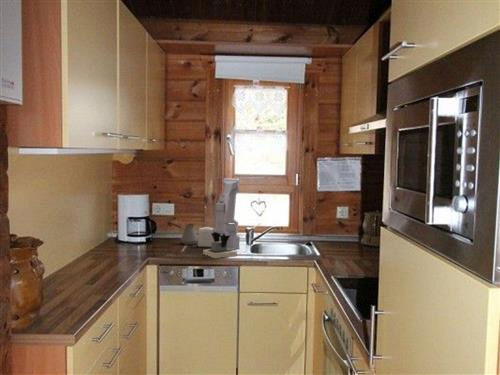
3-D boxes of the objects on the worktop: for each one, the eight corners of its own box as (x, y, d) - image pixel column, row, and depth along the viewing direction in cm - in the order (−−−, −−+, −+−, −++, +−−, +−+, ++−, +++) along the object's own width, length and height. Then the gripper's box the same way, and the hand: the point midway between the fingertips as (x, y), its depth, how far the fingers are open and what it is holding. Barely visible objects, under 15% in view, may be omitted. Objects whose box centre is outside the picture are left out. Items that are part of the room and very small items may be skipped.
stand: (224, 251, 278) (224, 247, 278) (236, 255, 268) (236, 251, 268) (203, 254, 270) (203, 249, 269) (214, 258, 259) (214, 253, 259)
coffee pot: (191, 241, 308) (192, 219, 307) (201, 244, 300) (202, 221, 299) (164, 244, 294) (164, 221, 293) (174, 247, 286) (174, 224, 285)
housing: (211, 250, 268) (211, 241, 267) (222, 249, 272) (223, 240, 272) (215, 251, 264) (215, 243, 264) (226, 250, 269) (227, 241, 268)
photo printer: (213, 245, 296) (214, 226, 295) (214, 247, 292) (214, 227, 291) (197, 245, 295) (198, 226, 294) (198, 247, 290) (198, 227, 290)
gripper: (208, 221, 271) (207, 244, 272) (221, 225, 259) (221, 248, 260) (218, 221, 275) (217, 243, 276) (232, 224, 264) (231, 247, 264)
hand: (220, 246), depth 268 cm, fingers open, 7 cm apart
